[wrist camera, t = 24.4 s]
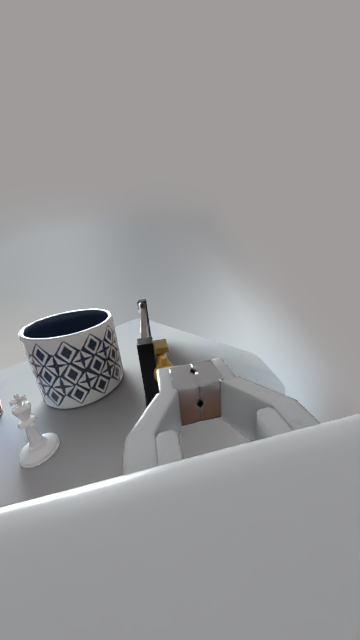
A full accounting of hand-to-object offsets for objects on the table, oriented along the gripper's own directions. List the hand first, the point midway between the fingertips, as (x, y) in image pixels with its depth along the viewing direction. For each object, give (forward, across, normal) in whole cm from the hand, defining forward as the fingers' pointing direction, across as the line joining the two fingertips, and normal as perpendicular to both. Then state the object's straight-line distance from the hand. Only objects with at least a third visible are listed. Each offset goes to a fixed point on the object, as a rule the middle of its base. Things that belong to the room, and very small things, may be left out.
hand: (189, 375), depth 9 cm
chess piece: (+17, +20, +21) cm, 33 cm away
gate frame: (+34, +2, +21) cm, 40 cm away
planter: (+32, +17, +21) cm, 42 cm away
